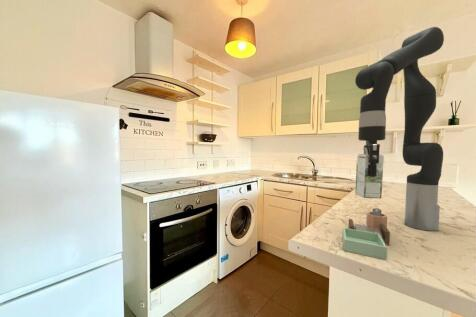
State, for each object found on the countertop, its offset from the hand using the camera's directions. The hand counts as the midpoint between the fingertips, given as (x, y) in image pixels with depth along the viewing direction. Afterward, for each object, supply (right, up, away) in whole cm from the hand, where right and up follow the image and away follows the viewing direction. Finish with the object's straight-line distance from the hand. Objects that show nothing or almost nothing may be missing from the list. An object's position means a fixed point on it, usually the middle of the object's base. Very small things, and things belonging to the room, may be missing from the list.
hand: (370, 175), depth 67 cm
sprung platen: (0, -20, +1) cm, 20 cm away
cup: (+7, -21, +7) cm, 23 cm away
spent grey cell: (+7, -21, +7) cm, 23 cm away
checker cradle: (0, -21, +1) cm, 21 cm away
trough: (-7, -22, -7) cm, 24 cm away
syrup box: (0, -8, 0) cm, 8 cm away
